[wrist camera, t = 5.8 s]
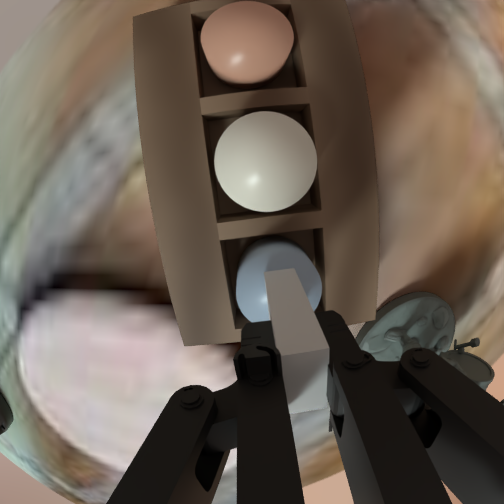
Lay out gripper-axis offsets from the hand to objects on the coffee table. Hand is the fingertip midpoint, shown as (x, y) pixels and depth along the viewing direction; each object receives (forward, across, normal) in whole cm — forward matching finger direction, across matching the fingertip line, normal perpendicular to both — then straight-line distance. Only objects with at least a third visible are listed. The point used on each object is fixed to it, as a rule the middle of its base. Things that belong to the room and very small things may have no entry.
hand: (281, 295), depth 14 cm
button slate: (+3, 0, 0) cm, 3 cm away
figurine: (+5, +11, -10) cm, 15 cm away
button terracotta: (+3, 0, +13) cm, 13 cm away
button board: (+5, 0, +6) cm, 8 cm away
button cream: (+2, 0, +7) cm, 7 cm away
